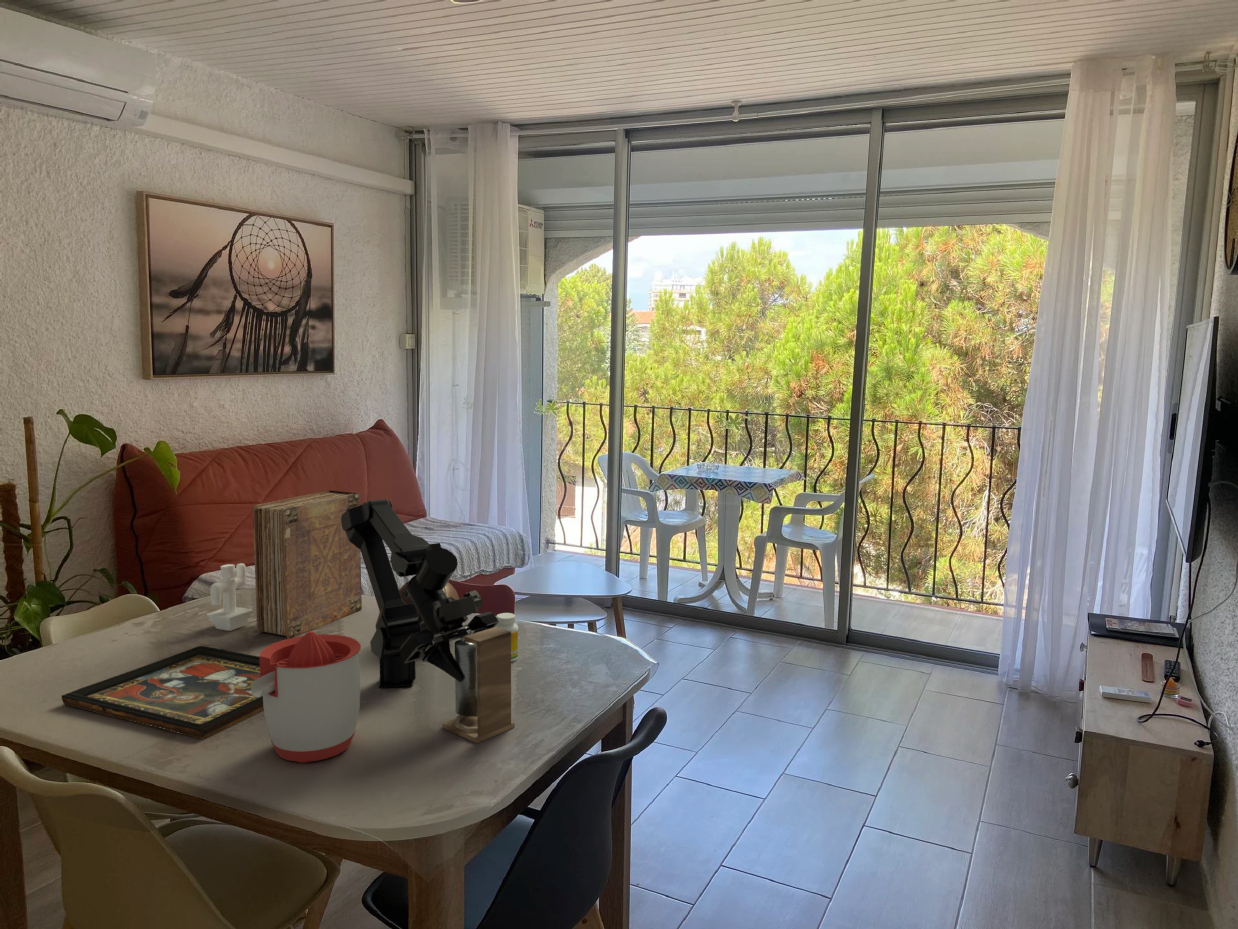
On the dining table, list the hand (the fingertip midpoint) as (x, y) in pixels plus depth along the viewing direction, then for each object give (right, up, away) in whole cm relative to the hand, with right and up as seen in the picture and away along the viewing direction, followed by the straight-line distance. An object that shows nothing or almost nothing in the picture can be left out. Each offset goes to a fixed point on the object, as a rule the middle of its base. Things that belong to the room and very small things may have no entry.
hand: (472, 676), depth 153 cm
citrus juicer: (-26, -10, -9) cm, 29 cm away
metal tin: (-1, -6, +2) cm, 7 cm away
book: (-49, -1, +58) cm, 75 cm away
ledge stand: (+1, -9, +1) cm, 9 cm away
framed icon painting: (-55, -7, +15) cm, 57 cm away
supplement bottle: (+1, -5, +34) cm, 35 cm away
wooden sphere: (-18, -3, +45) cm, 48 cm away
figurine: (-66, -1, +53) cm, 84 cm away
